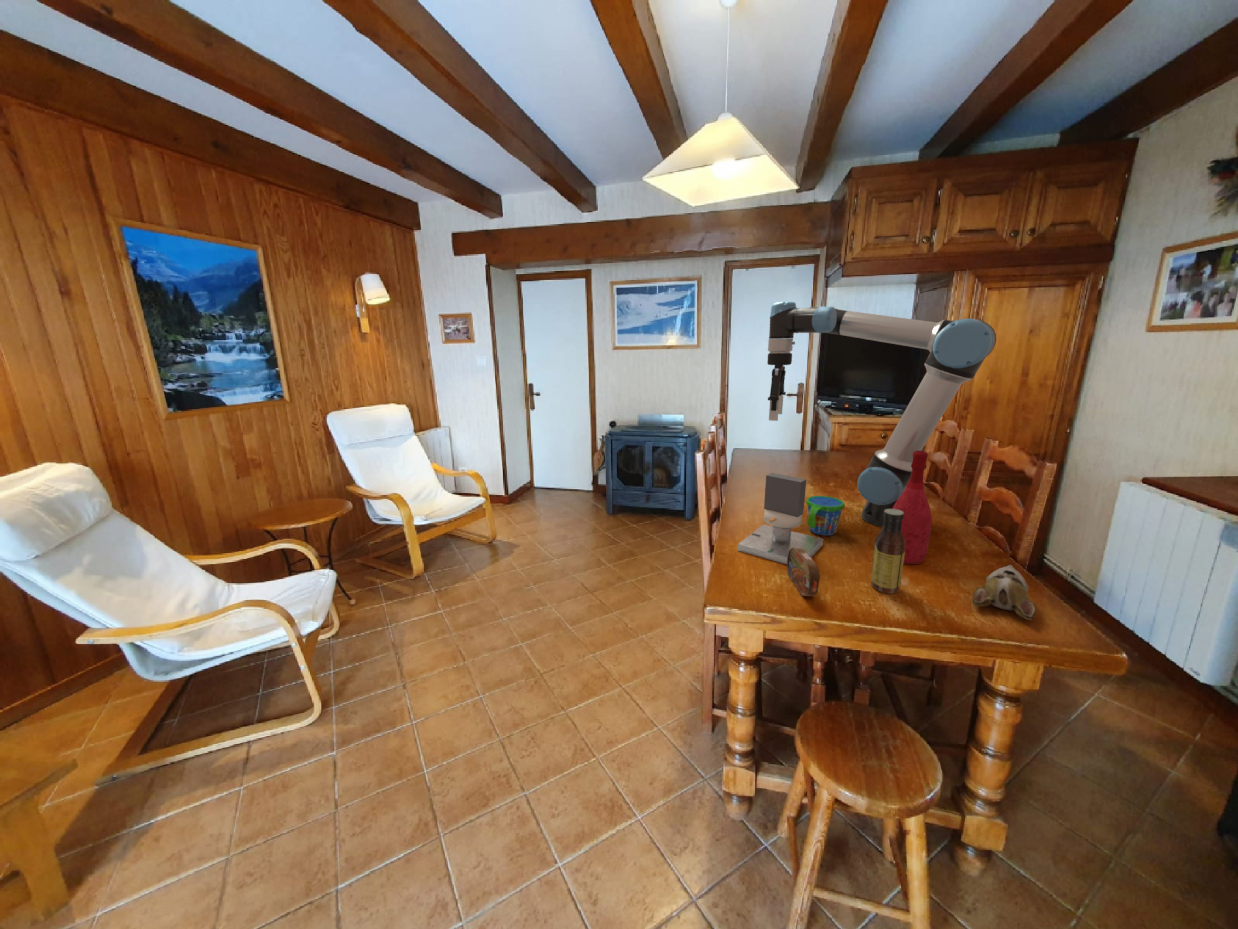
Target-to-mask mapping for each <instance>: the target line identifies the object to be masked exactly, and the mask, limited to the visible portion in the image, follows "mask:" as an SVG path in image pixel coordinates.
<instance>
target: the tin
mask: <svg viewBox="0 0 1238 929" xmlns="http://www.w3.org/2000/svg"><path fill="white" fill-rule="evenodd" d="M786 565H787V566H786V568H787V574H788V577H789V579H790V581H791V582H792V583H793V585H794V587H795V588H796V590H797V591H798V594H800V595H801V596H802V597H815V596H816V595H817V594H818V592H819V585H820V580H821V578H820V576H821V575H820V569H819V567H818V565H817V563H816V562H815V561H814V560H813V558H812V557H810V556H809V555H808V554H807V552H806V551H805V550H804V549H799V548H791V549H790V551H789V553H788V559H787V564H786Z"/></svg>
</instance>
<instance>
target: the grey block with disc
mask: <svg viewBox="0 0 1238 929" xmlns="http://www.w3.org/2000/svg"><path fill="white" fill-rule="evenodd" d="M806 486H807V479H806V478H801V477H796V476H791V475H785V474H780V473H776V472H770V473H768V474H766V475H765V488H764V504H763V509H764V516H763V520H764V522H765V523H766V524H767V525H769V526H772V527H773V526H776V527H781V528H791V529H793V528H798V527H800V526H801V525H802V520H803V514H804V509H805V502H806V501H805V499H806V490H807V489H806Z"/></svg>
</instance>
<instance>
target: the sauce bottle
mask: <svg viewBox="0 0 1238 929" xmlns="http://www.w3.org/2000/svg"><path fill="white" fill-rule="evenodd" d="M883 516H884V522H883V527H881V530H880V531H879V533H878V534H877V537H876V538H875V540H874V549H873V558H872V567H871V577H870V580H871V582H870V583H871V586H872V587H873V588H874V590H877V591H879V592H880V593H885V594H896V593H898V592H899V591H900V586H901V585H902V577H903V572H904V571H903V570H904V564H905V563H904V555H905V544H906V542H905V538H904V535H903V534H902V532H901V530H902V520H903V518H904V512H903V511H901V510H897V509H885V510H884V514H883Z"/></svg>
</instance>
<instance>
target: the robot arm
mask: <svg viewBox="0 0 1238 929" xmlns="http://www.w3.org/2000/svg"><path fill="white" fill-rule="evenodd" d="M823 333H824V334H831V335H839V336H846V337H849V338H850V337H851V338H856V339H857V338H858V339H863V340H870V341H875V342H881V343H887V344H894V345H899V346H904V347H909V348H910V347H911V348H917V349H923V350H927V351H929V354H928V356H927V358H926V360H925V362H924V365H923V366H924V367H925V369H926V373H925V374H924V376H923V378H922V380H921V382H920V383H919V385H918V387H917V389H916V390H915V393H914V394H913V396H912V398H911V399H910V401H909V402H908V405H907V407H906V408H905V410H904V412H903V413H902V415H901V418H900V419H899V421H898V423H897V424H896V427H895V428H894V429H893V432H892V434H891V435H890V437H889V439H888V440H887V441H886V442H887V443H886V444H885V446H884V447H883V448H882V449H879V450H876V451H875V452H874V454H873V455H872V457H871V460H870V461H869V463H868V464H867V466H866V468H865V469H864V470H862V472H861V473H860V474H859V476H858V479H857V484H856V485H857V490H858V492H859V494H860V495H861V497H862V498H863V499H864V500H866V502H865V504H864V506H863V508H862V510H861V518H862V519H863V520H864V521H865V522H867V523H868V524H872V525H874V526H876V527H881V528H883V522H884V516H883V514H884V510H885V509H892V508H893V506H894V505H895V503H896V501H897V500H898V498H899V497H900V496H901V494H902V493H903V492H904V490H905V489H906V486H907V484H908V482H909V480H910V477H911V472H912V468H911V464H912V461H913V452H915V451H923V448H924V447H925V446H926V444H927V442H928V440H929V438H930V437H931V436H932V434H933V432H934V430H935V429H936V428H937V425H938V424H939V422H940V421H941V419H942V417H943V415H944V414H945V412H946V410H947V409H948V407H949V406H950V404H951V402H952V401H953V399H954V397H955V396H956V394H957V392H958V391H959V389H960V387H961V386H962V385H963V384H964V383H966V382H969V381H972V380H973V379H974V377H975V376H976V374H977V372H978V371H979V369H980V368H981V366H982V364H983V363H984V361H985V360H986V358H987V357H989V355H990V354H991V353H992V351H994V348H995V347H996V344H997V334H996V331H995V329H994V328H993V326H991V324H989V323H987V322H986V321H984V320H980V319H977V318H970V317H969V318H967V317H966V318H960V319H956V320H948V319H942V320H940V321H939V322H935V321H928V320H927V321H926V320H920V319H913V318H906V317H897V316H892V315H891V316H889V315H884V314H883V315H882V314H876V313H869V312H867V313H866V312H860V311H853V310H845V309H844V310H843V309H839V308H835V307H834V306H825V305H824V306H823V305H822V306H812V307H797V303H796V302H795V301H779V302H774V303H772V305H771V309H770V315H769V334H768V335H769V336H768V341H767V342H768V343H767V344H768V345H767V346H768V348H767V351H768V354H767V365H768V366H774V368H772V370H771V384H770V391H769V396H768V397H767V401H769V410H768V412H769V413H768V421H775V422H778V421H779V415H783V405H784V396H786V393H787V392H786V391H785V378H786V377H785V376H786V373H787V372H786V370H785V369H786V367H785V366H790V365H791V364H792V361H793V360H792V359H793V354H792V351H793V348H794V347H793V346H794V345H796V342H795V341H794V335H795V334H823Z"/></svg>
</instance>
